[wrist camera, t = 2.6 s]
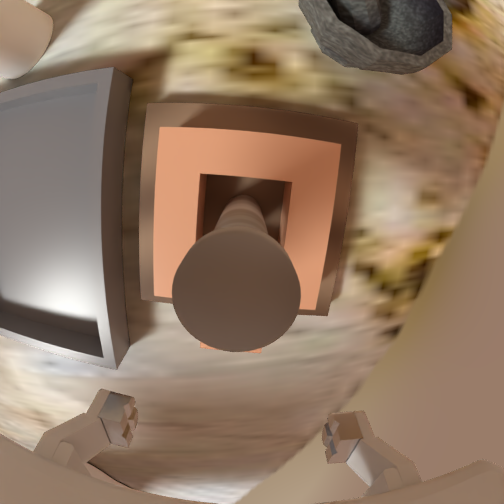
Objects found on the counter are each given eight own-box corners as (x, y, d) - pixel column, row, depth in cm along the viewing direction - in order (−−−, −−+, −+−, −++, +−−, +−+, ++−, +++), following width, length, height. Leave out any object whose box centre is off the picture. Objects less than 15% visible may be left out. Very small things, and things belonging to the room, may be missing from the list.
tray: (130, 346, 24) (116, 370, 21) (-4, 312, 23) (-22, 326, 20) (132, 79, 18) (113, 66, 14) (-16, 109, 17) (-39, 107, 13)
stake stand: (323, 307, 23) (388, 448, 10) (146, 291, 22) (61, 421, 9) (350, 125, 19) (491, 90, 6) (153, 106, 18) (26, 44, 5)
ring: (298, 331, 22) (305, 354, 19) (166, 320, 21) (156, 342, 19) (327, 146, 18) (341, 144, 15) (172, 132, 18) (159, 126, 15)
